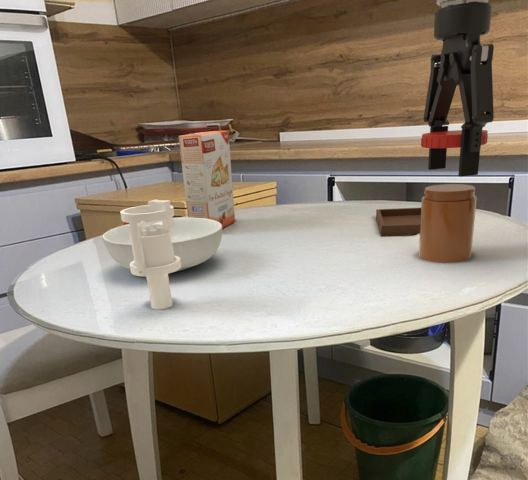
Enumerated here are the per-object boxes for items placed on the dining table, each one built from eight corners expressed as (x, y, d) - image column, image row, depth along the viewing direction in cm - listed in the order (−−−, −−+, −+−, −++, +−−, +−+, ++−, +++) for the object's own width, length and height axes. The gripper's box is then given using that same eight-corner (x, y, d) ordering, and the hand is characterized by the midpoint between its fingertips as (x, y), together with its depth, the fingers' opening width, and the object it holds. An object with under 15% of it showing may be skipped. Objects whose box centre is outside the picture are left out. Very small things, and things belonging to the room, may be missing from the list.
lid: (456, 141, 88) (457, 129, 87) (501, 142, 80) (502, 129, 79) (408, 147, 85) (408, 134, 84) (450, 149, 77) (450, 135, 76)
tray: (451, 233, 105) (452, 223, 104) (380, 236, 107) (381, 225, 106) (437, 216, 120) (438, 206, 119) (376, 218, 122) (376, 209, 122)
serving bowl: (128, 293, 84) (120, 250, 81) (97, 265, 101) (90, 229, 98) (245, 267, 93) (242, 228, 90) (198, 246, 110) (194, 212, 107)
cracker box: (212, 235, 118) (202, 133, 109) (188, 234, 120) (176, 135, 111) (237, 221, 130) (229, 129, 121) (215, 221, 132) (205, 130, 123)
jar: (476, 254, 91) (483, 184, 86) (462, 267, 85) (469, 192, 80) (428, 249, 95) (432, 183, 90) (411, 262, 89) (414, 191, 84)
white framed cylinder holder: (169, 316, 73) (152, 205, 67) (127, 312, 76) (107, 205, 70) (195, 299, 79) (181, 195, 73) (155, 296, 82) (139, 195, 75)
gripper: (405, 19, 84) (401, 167, 94) (480, -10, 64) (464, 182, 74) (450, 16, 85) (441, 163, 94) (537, -14, 65) (514, 177, 74)
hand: (451, 171), depth 84 cm, fingers closed on lid, 9 cm apart
